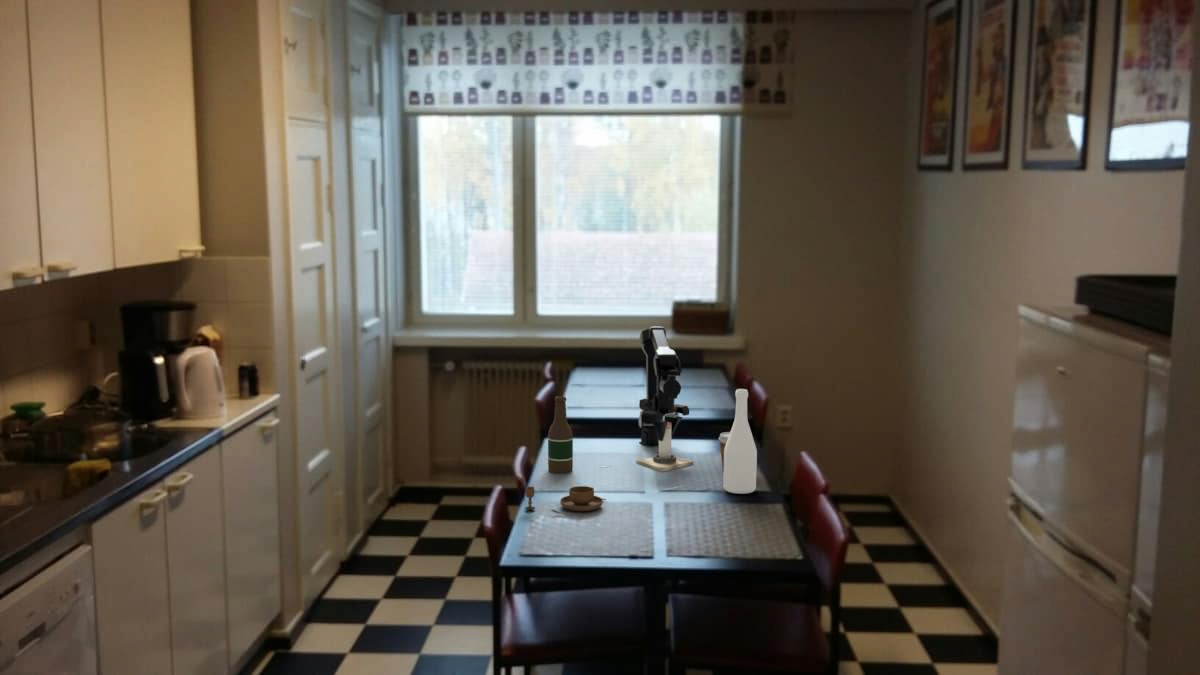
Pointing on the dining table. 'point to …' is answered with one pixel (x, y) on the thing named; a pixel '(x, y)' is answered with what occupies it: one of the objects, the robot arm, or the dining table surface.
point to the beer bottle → (560, 441)
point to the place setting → (573, 499)
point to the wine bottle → (740, 451)
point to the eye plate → (665, 466)
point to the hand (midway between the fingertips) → (665, 439)
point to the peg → (666, 443)
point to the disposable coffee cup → (723, 444)
